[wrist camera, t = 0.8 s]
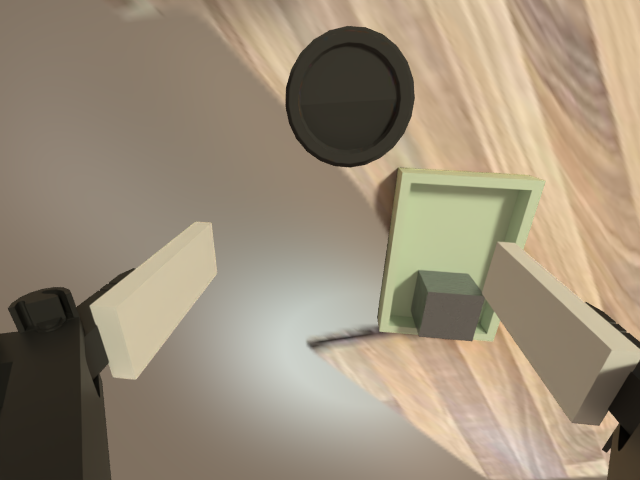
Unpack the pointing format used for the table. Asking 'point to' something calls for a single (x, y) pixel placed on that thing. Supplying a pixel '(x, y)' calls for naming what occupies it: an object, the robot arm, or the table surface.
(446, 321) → the cube
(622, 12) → the table surface
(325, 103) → the coffee cup
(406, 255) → the green tray
